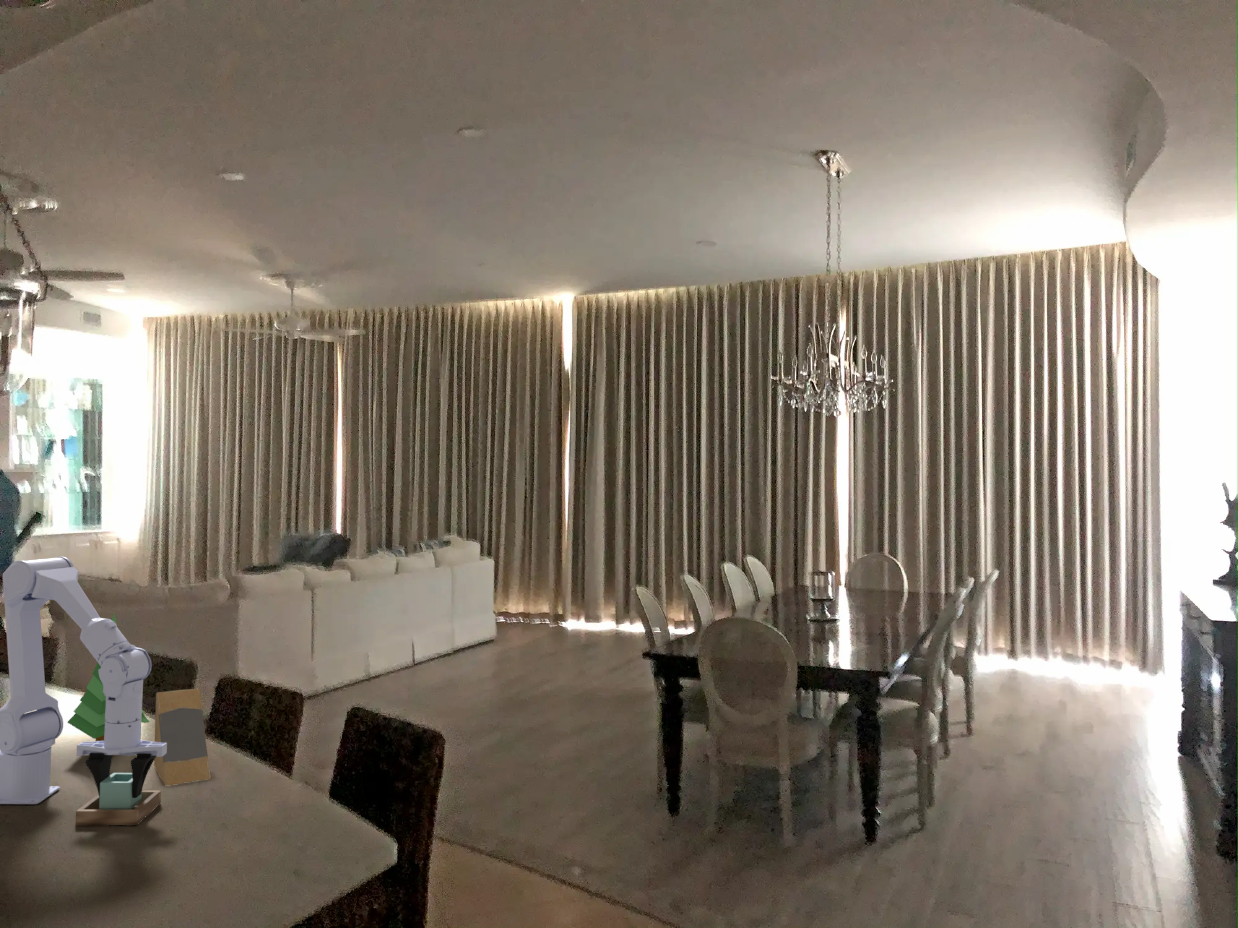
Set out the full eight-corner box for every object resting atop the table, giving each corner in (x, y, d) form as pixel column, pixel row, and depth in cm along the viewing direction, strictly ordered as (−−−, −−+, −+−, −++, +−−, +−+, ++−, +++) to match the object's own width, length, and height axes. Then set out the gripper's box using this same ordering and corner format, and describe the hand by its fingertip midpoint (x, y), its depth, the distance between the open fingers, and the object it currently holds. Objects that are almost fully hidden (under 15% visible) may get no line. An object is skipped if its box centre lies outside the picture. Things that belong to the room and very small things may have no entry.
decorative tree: (107, 768, 181) (113, 620, 182) (51, 757, 187) (57, 613, 187) (162, 750, 194) (168, 611, 194) (109, 739, 200) (114, 605, 200)
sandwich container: (164, 787, 173) (167, 710, 173) (152, 764, 186) (155, 692, 186) (212, 780, 178) (215, 704, 178) (197, 757, 190) (200, 687, 190)
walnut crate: (75, 825, 154) (76, 810, 154) (103, 803, 164) (104, 789, 164) (136, 825, 155) (136, 811, 155) (160, 803, 165) (161, 790, 165)
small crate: (99, 811, 157) (100, 782, 157) (112, 800, 162) (113, 772, 162) (129, 811, 157) (130, 782, 157) (141, 800, 162) (142, 772, 162)
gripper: (68, 724, 155) (65, 803, 155) (156, 726, 156) (153, 804, 156) (89, 713, 162) (86, 789, 162) (172, 714, 163) (169, 789, 163)
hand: (120, 795), depth 159 cm, fingers closed on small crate, 5 cm apart
